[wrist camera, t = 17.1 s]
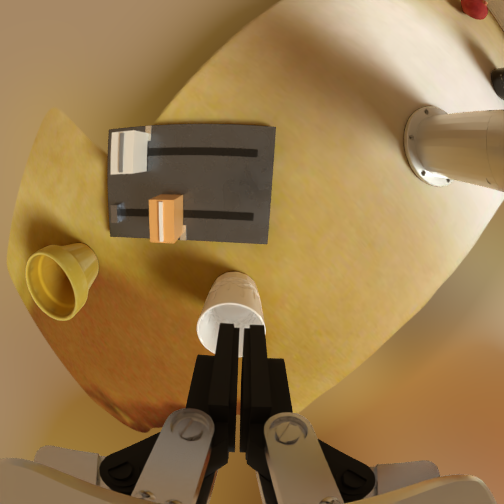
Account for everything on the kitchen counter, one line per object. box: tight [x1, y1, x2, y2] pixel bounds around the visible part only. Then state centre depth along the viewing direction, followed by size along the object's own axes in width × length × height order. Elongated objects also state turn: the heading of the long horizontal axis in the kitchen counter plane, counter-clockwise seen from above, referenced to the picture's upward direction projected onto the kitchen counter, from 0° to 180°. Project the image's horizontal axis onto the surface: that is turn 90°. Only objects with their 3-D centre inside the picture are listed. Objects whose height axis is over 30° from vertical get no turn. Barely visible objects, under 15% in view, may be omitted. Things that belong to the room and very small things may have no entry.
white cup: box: [197, 271, 266, 357], centre depth 35 cm, size 8×8×10 cm
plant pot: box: [25, 243, 99, 321], centre depth 33 cm, size 10×10×10 cm
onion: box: [461, 0, 488, 20], centre depth 18 cm, size 6×6×8 cm
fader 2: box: [149, 194, 183, 243], centre depth 32 cm, size 3×5×5 cm, turn 176°
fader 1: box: [111, 130, 148, 175], centre depth 29 cm, size 3×5×5 cm, turn 176°
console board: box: [108, 124, 276, 244], centre depth 33 cm, size 22×15×3 cm
